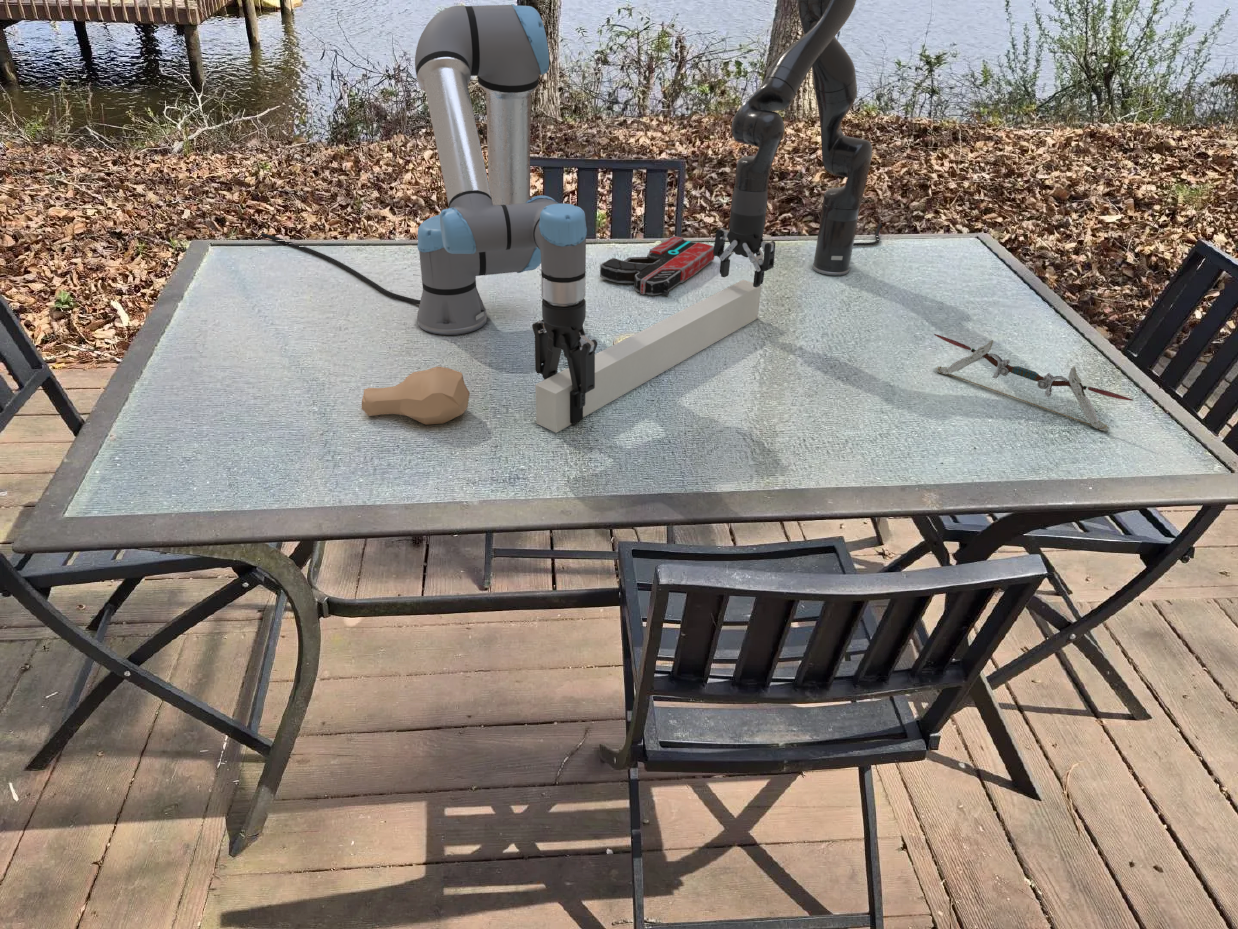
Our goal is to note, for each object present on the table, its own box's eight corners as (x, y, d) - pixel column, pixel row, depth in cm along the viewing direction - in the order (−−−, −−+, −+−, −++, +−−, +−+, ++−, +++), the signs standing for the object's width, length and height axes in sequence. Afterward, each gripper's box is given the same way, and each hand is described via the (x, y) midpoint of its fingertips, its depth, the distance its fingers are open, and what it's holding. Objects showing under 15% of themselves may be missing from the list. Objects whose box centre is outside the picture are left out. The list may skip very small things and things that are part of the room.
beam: (556, 433, 159) (555, 393, 154) (536, 423, 161) (535, 384, 157) (757, 318, 203) (761, 285, 198) (739, 312, 205) (743, 279, 201)
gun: (594, 265, 215) (663, 284, 207) (655, 228, 237) (719, 244, 229) (593, 282, 218) (662, 301, 210) (654, 244, 240) (718, 261, 232)
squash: (470, 431, 159) (458, 392, 152) (363, 439, 160) (347, 401, 154) (477, 393, 166) (467, 355, 160) (375, 401, 168) (361, 364, 162)
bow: (1121, 433, 163) (1140, 386, 158) (1118, 437, 162) (1137, 389, 156) (928, 365, 184) (939, 321, 179) (924, 368, 183) (935, 324, 178)
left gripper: (618, 306, 148) (615, 424, 161) (541, 278, 157) (544, 392, 170) (588, 320, 143) (588, 440, 156) (510, 290, 152) (516, 406, 165)
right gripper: (786, 212, 185) (776, 285, 194) (730, 197, 192) (723, 268, 201) (768, 220, 180) (758, 294, 189) (711, 205, 187) (704, 277, 196)
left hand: (565, 415), depth 163 cm, fingers closed on beam, 5 cm apart
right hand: (740, 281), depth 195 cm, fingers open, 8 cm apart
